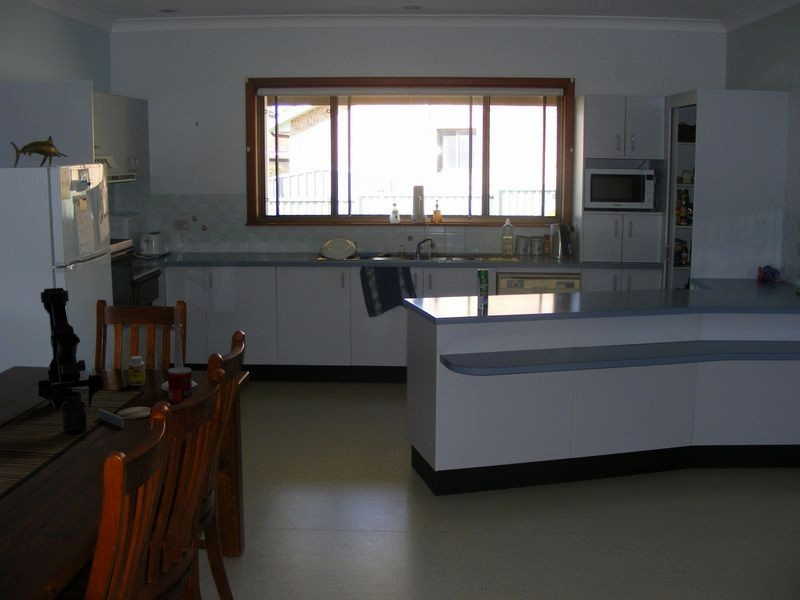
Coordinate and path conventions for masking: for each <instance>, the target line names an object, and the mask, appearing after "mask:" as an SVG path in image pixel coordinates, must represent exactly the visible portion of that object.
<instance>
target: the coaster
mask: <svg viewBox="0 0 800 600" xmlns="http://www.w3.org/2000/svg"><path fill="white" fill-rule="evenodd" d="M151 408H152V407H148V406H133V407H127V408H124V409H121V410H118V411H117V413H116V415H117V416H120V417H122V418H124V420H130V419H133V420H137V419H136V418H142V417H147V416H148V415H150V410H151Z"/></svg>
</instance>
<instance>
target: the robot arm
mask: <svg viewBox="0 0 800 600" xmlns="http://www.w3.org/2000/svg"><path fill="white" fill-rule="evenodd" d="M69 298H70V297H69V291H68V290H64V287H54V288H44V289H43V291H40V302H41V304H42V305H43V309H44V310H45V311H46V313H47V314H48V317H49V327H50V346H51V349H52V359H51V361H50V363H49V365H48V370H47V374H46V379H41V380H40V379H39V380H38V381H37V387H36V388H37V389H36V390H37V397H38V398H43V399H44V400H45V399H47V401H48V405H52V406H53V408H54V409H55V411H56V413H57V412H59V407H60V406H61V407H62V405H63V403H65V401H64V394H66V393H69V392H74V391H73V389H74V388H83V387H84V388H85V387H86V388H87V389H88V390H87V391H88V392H87V395H88V396H87V398H88V399H87V400H88V401H87V404H88V409H91V408H92V407H91V406H92V401H93V399H94V396H95V394H97V393H99V391H101V390H103V387H104V386H103V385H104V378H103V375H102V374H100V373H98V374H97V373H96V374H89V375H88V379H84V380H80V379H81V372H84V371H86V369H87V368H86V361H85V359H79V360H77V353H78V345H79V343H81V339H80V337H79V336H78V335H77V333H75V331H74V327H73V326H72V325H71V324H70V323H69V319H68V313H67V308H66V306H67V302H69Z"/></svg>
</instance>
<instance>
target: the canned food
mask: <svg viewBox="0 0 800 600" xmlns="http://www.w3.org/2000/svg"><path fill="white" fill-rule="evenodd" d="M192 375H193V374H192V368H190V367H185V366H183V367H176V368H174V367H172V368H171V367H170V368H169V369H167V381H168V389H169V391H168V401H169V403H171V402H173V403H172V404H174V402H178V403H180V402H182V401H186V400H188V399H192V400H193V390H192V381H193V377H192Z"/></svg>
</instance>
